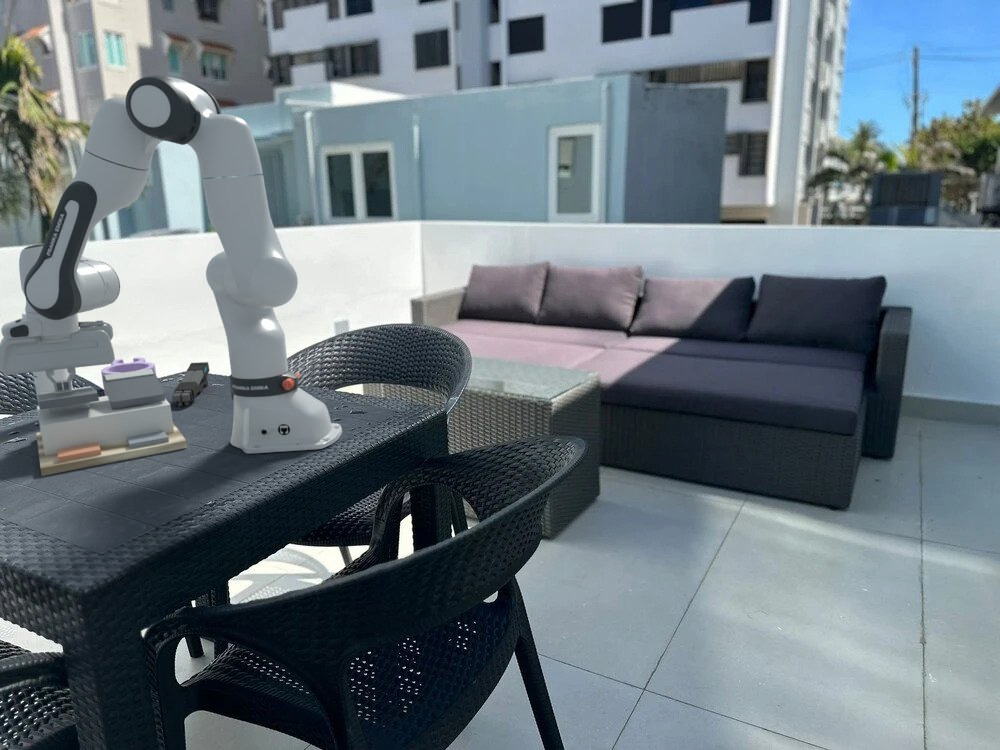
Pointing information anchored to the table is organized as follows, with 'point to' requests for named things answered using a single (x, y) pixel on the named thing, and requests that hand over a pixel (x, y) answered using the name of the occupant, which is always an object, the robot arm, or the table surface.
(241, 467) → the table surface
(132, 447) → the switch unit
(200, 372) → the gun
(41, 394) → the left rocker
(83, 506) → the table surface
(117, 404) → the right rocker
